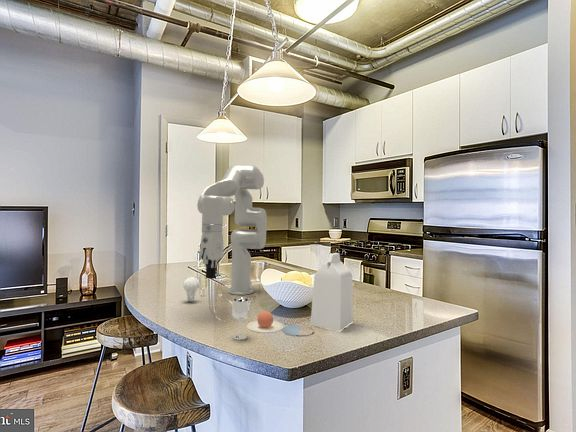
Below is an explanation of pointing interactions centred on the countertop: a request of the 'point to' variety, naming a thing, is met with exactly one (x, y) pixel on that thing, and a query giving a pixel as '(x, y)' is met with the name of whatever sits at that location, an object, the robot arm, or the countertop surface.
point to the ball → (265, 319)
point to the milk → (332, 295)
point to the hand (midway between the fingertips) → (210, 277)
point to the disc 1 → (273, 328)
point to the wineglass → (240, 314)
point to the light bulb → (191, 287)
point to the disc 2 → (291, 329)
